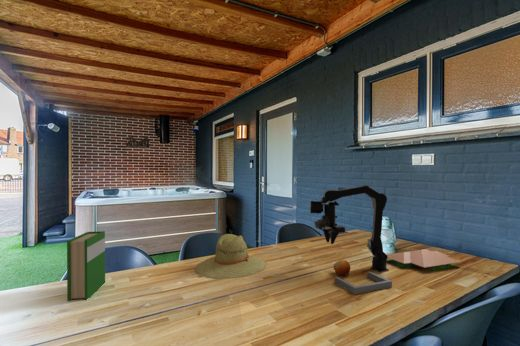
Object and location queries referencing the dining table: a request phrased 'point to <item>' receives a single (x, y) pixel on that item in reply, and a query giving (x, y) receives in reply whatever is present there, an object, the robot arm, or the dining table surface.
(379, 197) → the robot arm
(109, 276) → the dining table surface
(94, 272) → the hardback book
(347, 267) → the fruit
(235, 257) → the straw hat
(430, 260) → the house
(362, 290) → the corral
